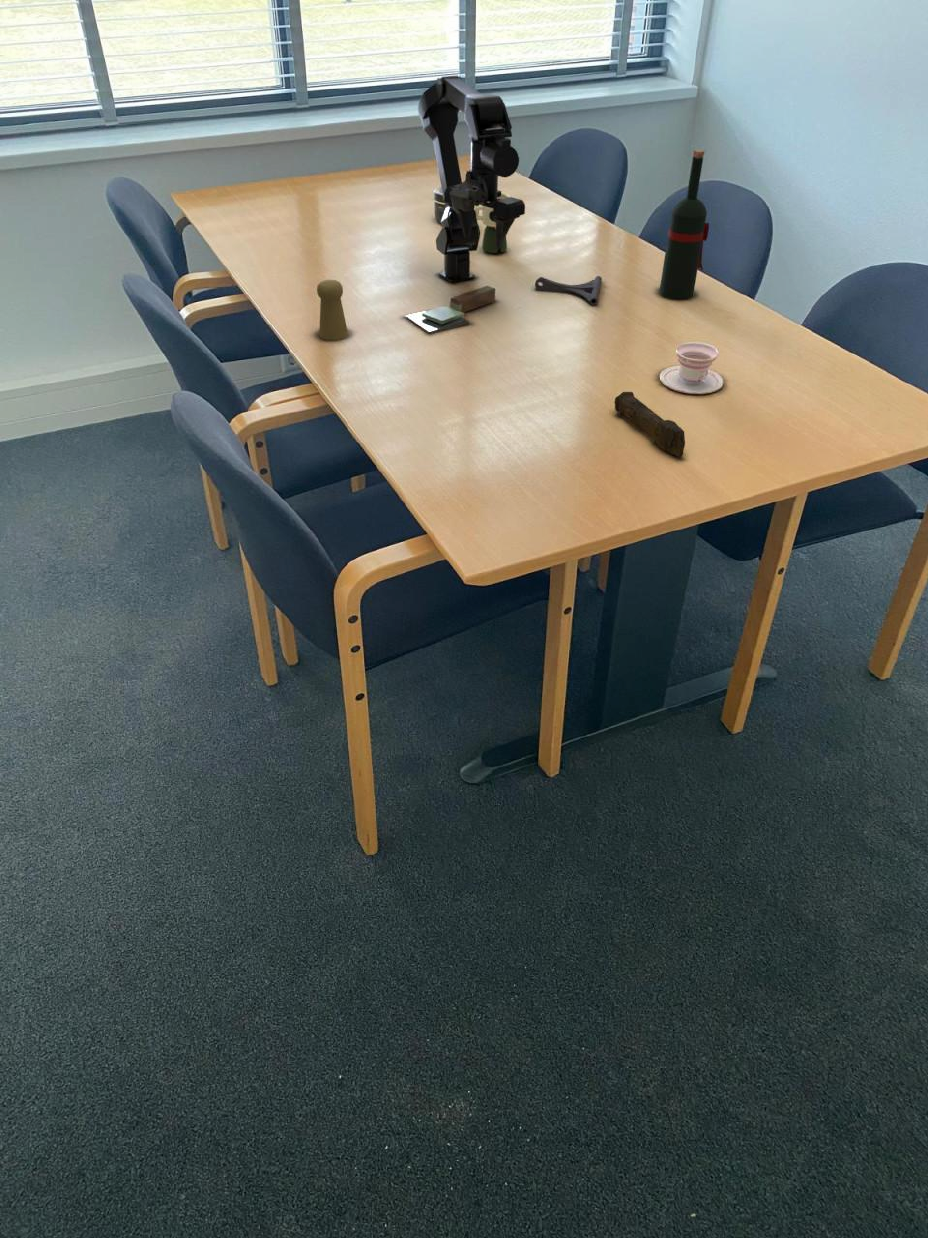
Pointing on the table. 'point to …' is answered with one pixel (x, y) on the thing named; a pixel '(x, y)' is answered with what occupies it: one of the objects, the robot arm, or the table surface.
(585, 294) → the bracket
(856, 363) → the table surface
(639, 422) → the dark brown long bar
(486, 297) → the spatula
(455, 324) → the plate
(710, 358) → the teacup
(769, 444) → the table surface
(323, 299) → the olive brown pawn
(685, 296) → the wine bottle
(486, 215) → the character mug
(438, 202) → the jar
